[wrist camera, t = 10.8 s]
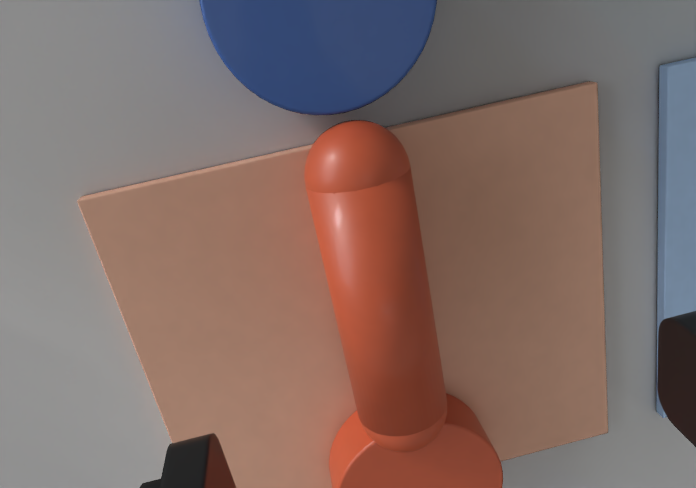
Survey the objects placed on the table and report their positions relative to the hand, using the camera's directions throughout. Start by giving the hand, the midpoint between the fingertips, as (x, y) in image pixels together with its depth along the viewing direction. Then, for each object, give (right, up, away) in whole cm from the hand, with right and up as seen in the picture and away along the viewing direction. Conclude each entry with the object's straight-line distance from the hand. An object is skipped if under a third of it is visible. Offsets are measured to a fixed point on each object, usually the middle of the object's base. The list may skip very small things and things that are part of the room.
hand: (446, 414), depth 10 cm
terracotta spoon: (-1, 0, +7) cm, 7 cm away
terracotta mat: (-1, 0, +8) cm, 8 cm away
